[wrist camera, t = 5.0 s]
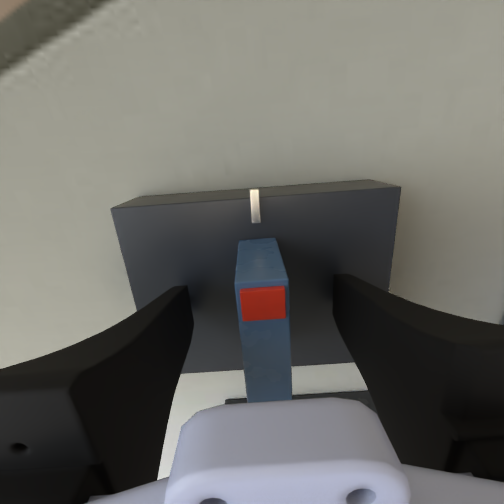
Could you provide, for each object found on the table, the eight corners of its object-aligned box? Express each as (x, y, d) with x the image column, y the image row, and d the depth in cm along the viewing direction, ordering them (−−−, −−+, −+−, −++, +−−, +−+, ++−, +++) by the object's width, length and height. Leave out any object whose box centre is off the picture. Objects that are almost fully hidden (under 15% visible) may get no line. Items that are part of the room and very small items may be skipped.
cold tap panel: (370, 172, 14) (405, 178, 11) (357, 330, 17) (381, 368, 14) (136, 189, 14) (105, 200, 11) (170, 343, 17) (153, 383, 14)
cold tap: (280, 341, 13) (294, 420, 9) (248, 343, 13) (249, 423, 10) (275, 237, 11) (289, 282, 8) (238, 239, 12) (233, 286, 8)
